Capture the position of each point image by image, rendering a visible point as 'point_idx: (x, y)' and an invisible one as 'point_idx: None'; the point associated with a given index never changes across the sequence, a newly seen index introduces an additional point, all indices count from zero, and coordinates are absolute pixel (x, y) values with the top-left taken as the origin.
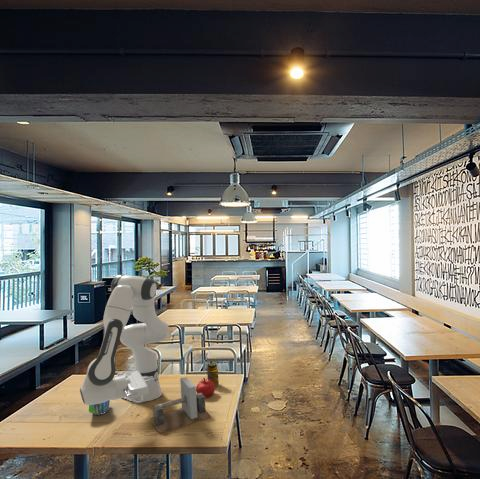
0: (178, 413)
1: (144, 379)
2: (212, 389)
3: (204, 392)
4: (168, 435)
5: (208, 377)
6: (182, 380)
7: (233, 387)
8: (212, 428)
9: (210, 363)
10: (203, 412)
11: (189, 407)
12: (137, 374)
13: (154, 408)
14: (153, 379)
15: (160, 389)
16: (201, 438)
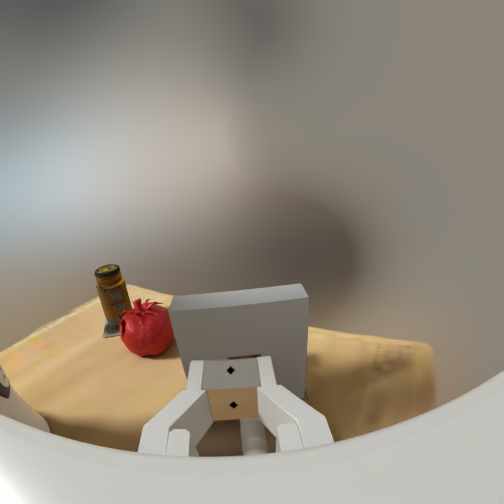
0: (226, 427)
1: (196, 452)
2: None
3: (167, 335)
4: None
5: (112, 305)
6: (200, 308)
7: (168, 300)
8: (357, 360)
9: (97, 269)
10: None
11: (293, 372)
12: (36, 468)
13: None
14: (271, 368)
15: (30, 407)
16: (403, 382)
